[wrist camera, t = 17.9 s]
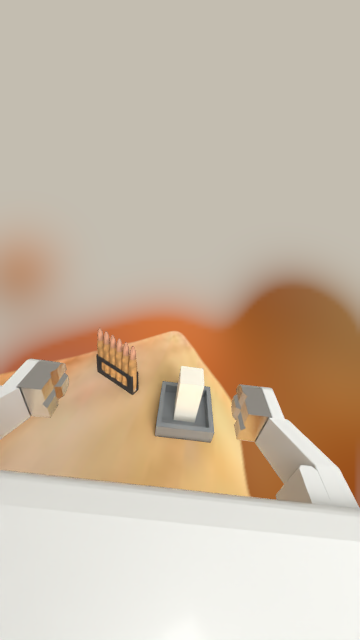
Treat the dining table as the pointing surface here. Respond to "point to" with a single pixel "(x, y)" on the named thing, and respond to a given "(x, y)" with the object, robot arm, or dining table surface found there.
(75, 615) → the robot arm
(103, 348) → the ammunition clip
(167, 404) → the box
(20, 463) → the dining table surface
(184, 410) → the cream block
